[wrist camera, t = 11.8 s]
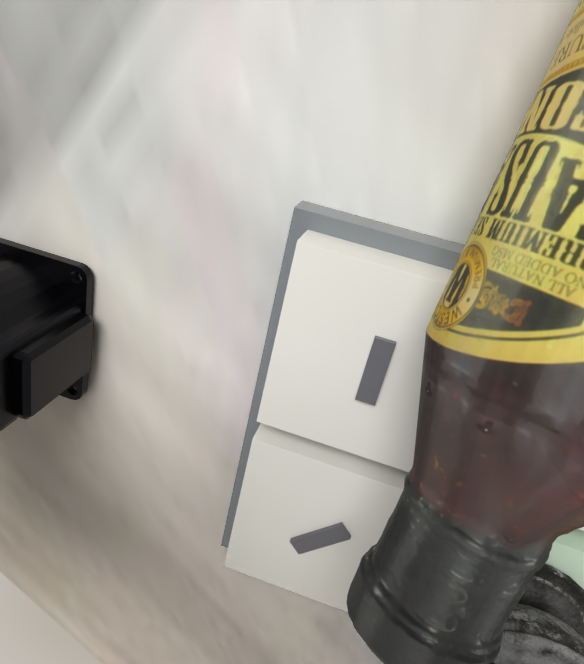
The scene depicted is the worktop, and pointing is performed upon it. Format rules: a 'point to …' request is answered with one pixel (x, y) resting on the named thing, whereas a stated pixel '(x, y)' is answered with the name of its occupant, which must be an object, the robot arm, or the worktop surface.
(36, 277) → the robot arm
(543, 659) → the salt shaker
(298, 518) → the keypad board
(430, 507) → the sauce bottle
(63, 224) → the worktop surface
